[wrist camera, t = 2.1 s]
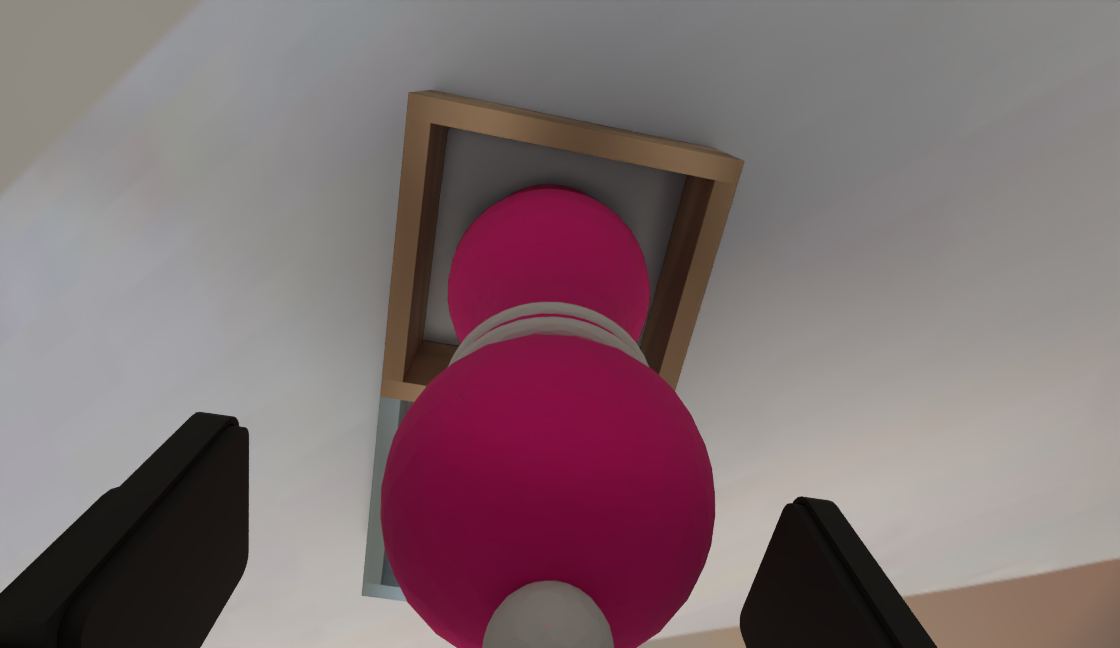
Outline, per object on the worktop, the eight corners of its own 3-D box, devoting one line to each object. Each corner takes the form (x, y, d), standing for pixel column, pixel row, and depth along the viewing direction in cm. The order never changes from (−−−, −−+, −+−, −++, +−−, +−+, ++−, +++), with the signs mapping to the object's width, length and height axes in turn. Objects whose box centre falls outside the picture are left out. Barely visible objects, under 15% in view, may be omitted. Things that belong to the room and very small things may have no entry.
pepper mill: (455, 319, 27) (243, 862, 8) (476, 155, 24) (235, 415, 6) (612, 346, 27) (744, 906, 9) (650, 189, 25) (954, 523, 6)
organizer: (714, 148, 24) (744, 161, 20) (597, 564, 32) (603, 627, 29) (431, 90, 23) (408, 92, 19) (383, 534, 31) (361, 595, 28)
